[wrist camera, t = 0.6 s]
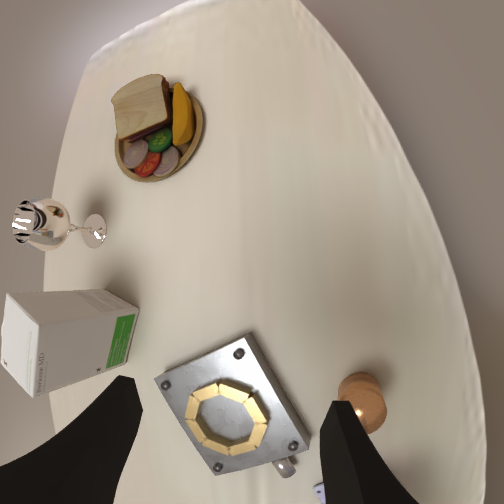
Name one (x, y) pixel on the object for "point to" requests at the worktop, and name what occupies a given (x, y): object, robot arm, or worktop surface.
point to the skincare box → (64, 337)
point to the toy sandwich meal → (155, 128)
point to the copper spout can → (364, 399)
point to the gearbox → (235, 409)
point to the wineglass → (52, 225)
